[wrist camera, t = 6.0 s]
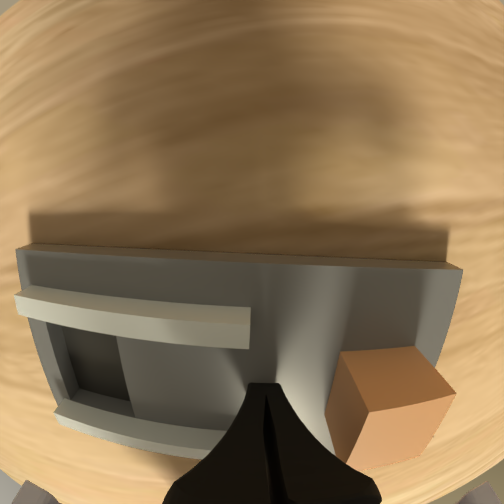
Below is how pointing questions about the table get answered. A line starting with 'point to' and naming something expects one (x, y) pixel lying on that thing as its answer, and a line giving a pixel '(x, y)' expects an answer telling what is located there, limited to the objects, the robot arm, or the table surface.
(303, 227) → the table surface
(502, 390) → the table surface
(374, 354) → the block
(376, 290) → the channel
